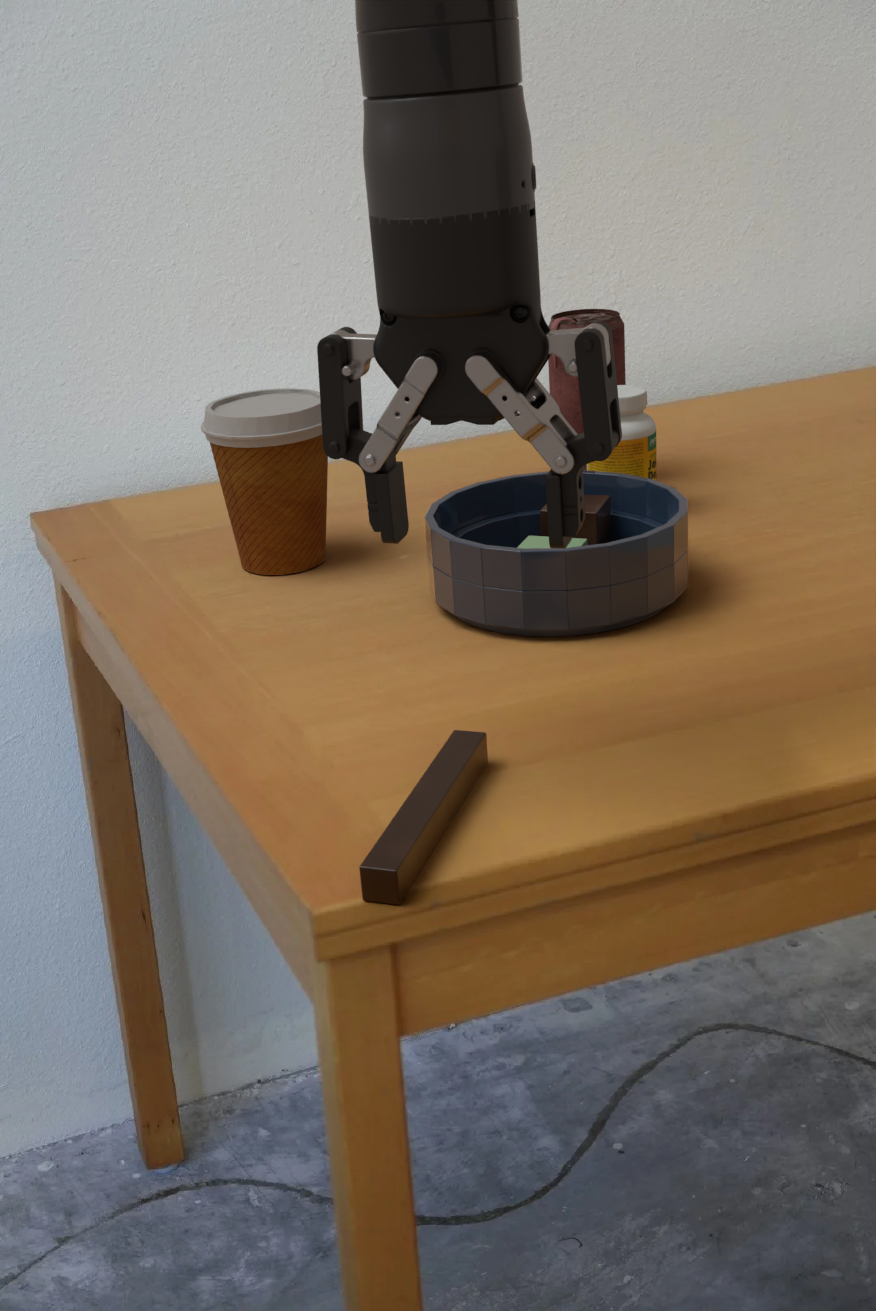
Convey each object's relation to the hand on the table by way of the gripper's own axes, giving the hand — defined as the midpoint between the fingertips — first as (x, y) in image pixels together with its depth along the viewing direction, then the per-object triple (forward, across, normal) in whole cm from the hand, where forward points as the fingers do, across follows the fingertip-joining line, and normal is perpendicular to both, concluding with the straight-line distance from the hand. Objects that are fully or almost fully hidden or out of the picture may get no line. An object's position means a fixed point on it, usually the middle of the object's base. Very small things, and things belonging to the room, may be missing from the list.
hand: (477, 541), depth 73 cm
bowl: (+12, -3, +25) cm, 28 cm away
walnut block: (+12, -2, +30) cm, 32 cm away
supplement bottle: (+13, -2, +43) cm, 45 cm away
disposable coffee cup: (+12, -25, +29) cm, 40 cm away
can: (+12, -6, +50) cm, 52 cm away
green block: (+12, -2, +21) cm, 24 cm away
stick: (+12, -1, 0) cm, 12 cm away
